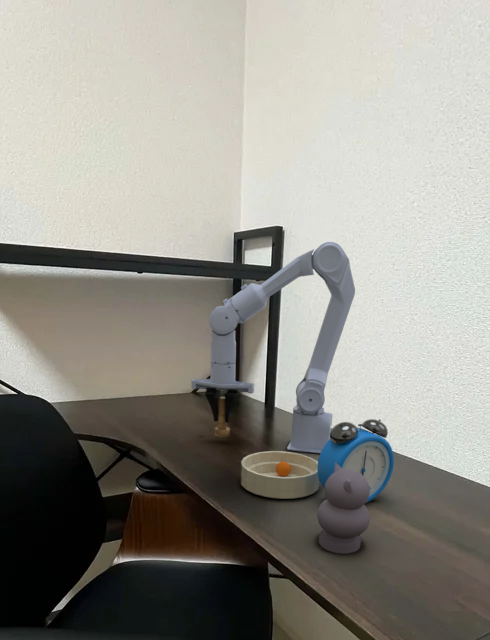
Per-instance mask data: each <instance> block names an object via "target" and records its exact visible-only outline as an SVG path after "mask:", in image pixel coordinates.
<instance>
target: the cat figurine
mask: <svg viewBox="0 0 490 640" xmlns="http://www.w3.org/2000/svg"><path fill="white" fill-rule="evenodd" d="M369 494H370V487H369V484H368V482H367V480H366V478H365V477H364V476H363V475H361V474H360V473H358V472H356V471H354V470H348V469H344V470H343V469H342V468H341V467H340V466H339V465H338V464H337V463H336V462H335V469H334V473H333V474H332V475H331V476H330V477H329V478H328V480H327V481H326V484H325V489H324V495H325V498H326V499H325V500H323V501H322V502H321V503H320V505H319V507H318V509H317V512H316V518H317V522H318V524H319V527H321V530H320V531H319V534H318V544H319V545H320V547H321V548H322V549H324V550H326V551H329V552H330V553H334V554H335V553H336V554H351V553H354V552H355V553H356V552H357V551H358V550H360V547H361V542H362V536H361V535H363V533H364V532H366V531H367V529H368V527H369V526H370V521H371V515H370V512H369V510H368V508H367V507H366V502H367V500H368V498H369ZM367 503H368V502H367Z"/></svg>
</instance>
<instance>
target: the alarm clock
mask: <svg viewBox="0 0 490 640" xmlns="http://www.w3.org/2000/svg"><path fill="white" fill-rule="evenodd" d="M357 426H358V427H357ZM388 435H389V430H388V428H387V426H386V424H385V423H383V422H382V420H381V419H375V418H369V419H367V420H366V419H365V420H364V421H363V422H362V423H358V424H357V425H355V424H354V423H352V422H350V421H342V422H339V423H337V424H335V425H334V426H333V427H331V432H330V439H329V440H328V442H327V443H326V444H325V446H324V447H323V449H322V451H321V453H319V456H318V460H317V461H318V466H317V473H318V478H319V484H320V485H321V487H322V488H323V489H324V490H325V484H326V481H327V480H328V478H329V477H330V476H331V475H332V474H333V473H334V469H335V462H336V463H337V464H338V465H339V466H340V467H341V468H342V469H343V470H344V469H348V470H354V471H356V472H358V473H360V474H361V475H363V476H364V477H365V478H366V480H367V482H368V484H369V487H370V494H369V498H368V500H367V502H366V503H369V502H374V501H375V499H376V498H377V497H378V496H379V495H380V494H381V493H382V492H383V491H384V490H385V488H386V486H387V485H388V483H389V482H390V479H391V477H392V474H393V471H394V467H395V466H394V465H395V456H394V450H393V448H392V445H391V444H390V443H389V442H388V441H387V437H388ZM366 503H365V504H366Z"/></svg>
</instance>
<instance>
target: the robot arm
mask: <svg viewBox="0 0 490 640" xmlns="http://www.w3.org/2000/svg"><path fill="white" fill-rule="evenodd" d="M314 272H315V273H316V274H317V275H318V276H319V277H320V278H321V279H322V281H324V284H325V286H326V287H327V289H328V291H329V293H330V299H329V301H328V305H327V308H326V311H325V313H324V317H323V320H322V324H321V327H320V329H319V333H318V335H317V339H316V342H315V345H314V347H313V348H314V349H313V351H312V353H311V354H312V355H311V358H310V360H309V364H308V365H307V366H308V367H307V369H306V370H305V374H304V377H303V378H302V379H301V381H300V382H299V383H298V384H297V386H296V389H295V395H296V399H295V400H296V405H295V406H293V408H292V420H291V421H292V422H291V436H290V441H289V443H288V445H287V447H286V450H287V451H293V452H294V451H295V452H301V453H302V452H304V453H313V454H321V451H322V449H323V447H324V446H325V444H326V443H327V442H328V440H329V439H330V432H331V430H332V425H333V413H332V412H326V411H325V408H324V405H325V402H326V401H325V399H326V398H325V389H326V386H327V382H328V375H329V373H330V372H329V371H330V368H331V366H332V363H333V360H334V357H335V354H336V351H337V348H338V345H339V342H340V339H341V337H342V333H343V330H344V327H345V324H346V321H347V319H348V315H349V313H350V309H351V307H352V304H353V300H354V297H355V294H356V287H355V282H354V277H353V274H352V270H351V262H350V258H349V256H348V255H347V253H346V252H345V250H344V249H343V248H342V246H341V245H340V244H338V243H337V242H335V241H326V242H323V243H322V244H320V245H319V246H317V247H316V249H315V248H313V249H311V250H309V251H307V252H305V253H302V254H301V255H298V256H296V258H294V259H293V260H291V261H290V262H289V263H288V264H286V265H285V266H283V267H282V268H281V269H279V270H278V271H277V272H276V273H274V274H273V275H272V276H271V277H269V278H268V279H266V280H265V281H264V282H262V283H261V284H258V283H253V282H252V283H249V284H248V285H247V284H246V283H245V284H243V285H241V287H240V289H241V290H240V291H238V292H237V293H235V295H232V297H230V298H229V299H228V298H225V299H223V301H222V303H223V305H217V306H216V307H215V308H214V309H213V310H211V313H210V315H209V318H208V323H209V327H210V329H211V331H210V348H209V349H210V350H209V351H210V357H209V358H210V363H209V364H210V365H209V366H210V377H209V378H193V379H192V380H191V389H194V390H197V389H198V390H199V389H201V390H205V391H204V395H205V398H206V400H207V402H208V404H209V406H210V409H211V412H212V413H211V414H212V417H213V422H218V397H221V392H222V391H225V393H224V397H225V403H226V414H225V422H227V424H228V423H230V422H231V418H232V414H233V410H234V407H235V404H236V402H237V400H238V398H239V396H240V394H241V393H247V394H253V393H255V383H251V382H244V381H238V380H236V366H237V365H236V364H237V363H236V362H237V360H236V359H237V341H236V330H235V329H236V328H237V327H238V324H244V323H245V322H247V321H248V320H249V319H252V318H253V317H254V316H255V315H257V314H259V313H260V312H261V311H262V310H264V309H266V307H267V306H268V305H267V304H268V299H269V298H270V297H271V296H273V295H274V294H276V293H277V292H279V291H280V290H282V289H283V288H285V287H286V286H288V285H289V284H291V283H293V282H294V281H296V280H297V279H298V278H301V277H308V276H314V275H315V274H314Z"/></svg>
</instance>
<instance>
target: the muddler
mask: <svg viewBox="0 0 490 640" xmlns="http://www.w3.org/2000/svg"><path fill="white" fill-rule="evenodd" d="M225 414H226V403H225V396H220V397H218V421H217V426H216V427H214V436H215V437H219V438H226V437H229V436H230V434H231V433H230V431H231V428H230V427H228V423H227V422H225Z"/></svg>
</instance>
